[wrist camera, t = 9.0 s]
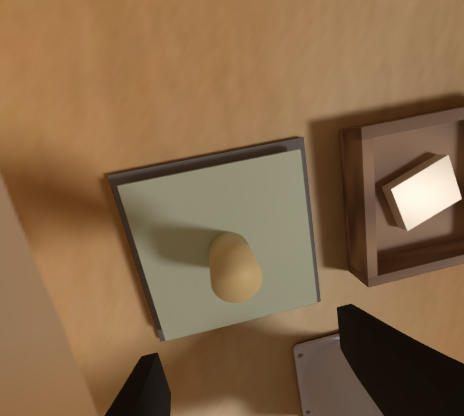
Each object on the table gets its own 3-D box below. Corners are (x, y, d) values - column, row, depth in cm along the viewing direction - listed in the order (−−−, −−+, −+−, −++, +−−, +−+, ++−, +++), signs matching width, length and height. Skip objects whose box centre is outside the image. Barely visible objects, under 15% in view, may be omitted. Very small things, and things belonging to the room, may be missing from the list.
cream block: (449, 196, 21) (461, 198, 20) (397, 227, 21) (407, 231, 20) (436, 154, 20) (448, 154, 19) (381, 187, 20) (391, 189, 19)
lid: (311, 294, 21) (345, 340, 16) (167, 330, 20) (157, 390, 15) (294, 149, 18) (330, 150, 13) (122, 183, 17) (90, 198, 12)
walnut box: (472, 241, 23) (506, 252, 20) (348, 271, 22) (368, 287, 19) (483, 101, 19) (525, 95, 17) (339, 129, 19) (361, 127, 16)
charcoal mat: (318, 298, 22) (320, 301, 22) (161, 338, 21) (160, 341, 21) (301, 137, 18) (303, 137, 18) (109, 174, 17) (107, 175, 17)
